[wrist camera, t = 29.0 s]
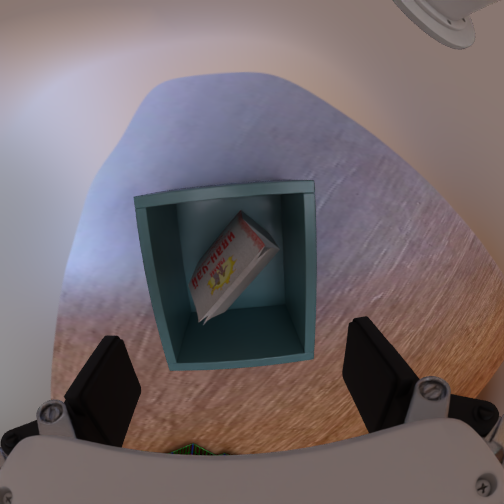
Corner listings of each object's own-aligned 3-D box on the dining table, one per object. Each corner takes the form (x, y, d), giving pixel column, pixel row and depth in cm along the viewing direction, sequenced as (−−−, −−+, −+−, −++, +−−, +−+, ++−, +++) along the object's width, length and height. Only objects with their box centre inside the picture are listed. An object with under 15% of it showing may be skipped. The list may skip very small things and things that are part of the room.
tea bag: (270, 234, 26) (290, 266, 17) (226, 284, 28) (223, 339, 18) (240, 209, 26) (244, 228, 16) (197, 263, 27) (178, 308, 17)
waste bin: (168, 190, 25) (133, 196, 16) (286, 179, 26) (314, 180, 16) (186, 315, 29) (169, 371, 20) (291, 306, 30) (313, 359, 20)
